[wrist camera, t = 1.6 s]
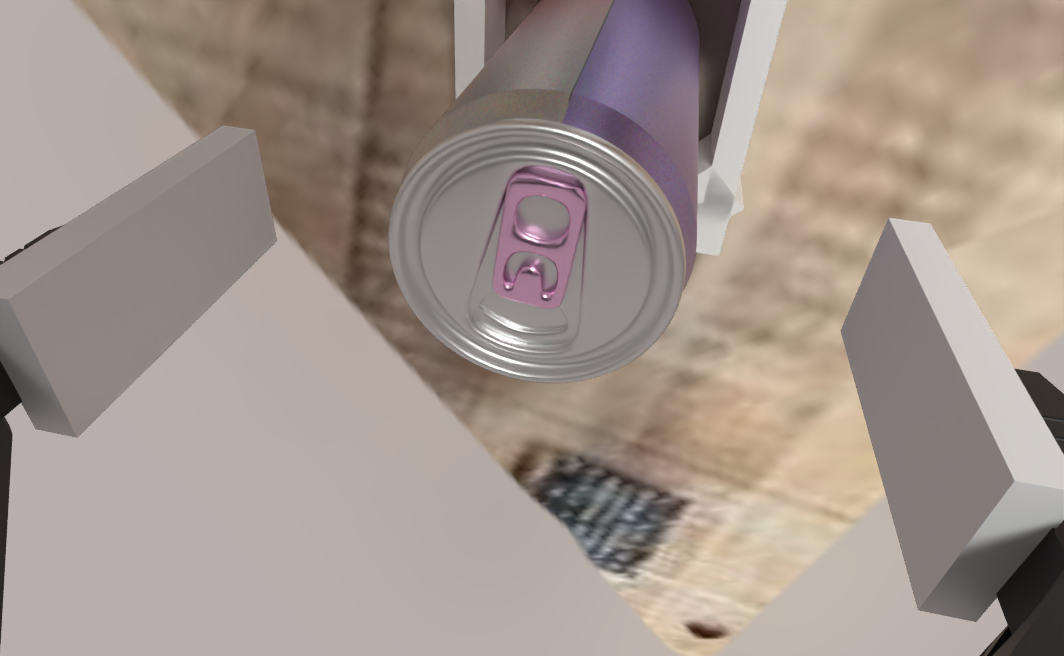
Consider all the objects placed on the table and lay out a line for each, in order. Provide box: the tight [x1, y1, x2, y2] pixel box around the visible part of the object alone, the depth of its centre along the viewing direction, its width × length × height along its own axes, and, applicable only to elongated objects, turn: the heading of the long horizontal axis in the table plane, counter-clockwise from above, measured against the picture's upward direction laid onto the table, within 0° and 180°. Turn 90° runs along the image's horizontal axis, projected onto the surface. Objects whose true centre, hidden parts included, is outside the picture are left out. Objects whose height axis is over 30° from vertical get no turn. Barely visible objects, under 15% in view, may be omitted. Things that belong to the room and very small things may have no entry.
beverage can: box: [388, 0, 700, 383], centre depth 18 cm, size 6×6×15 cm
